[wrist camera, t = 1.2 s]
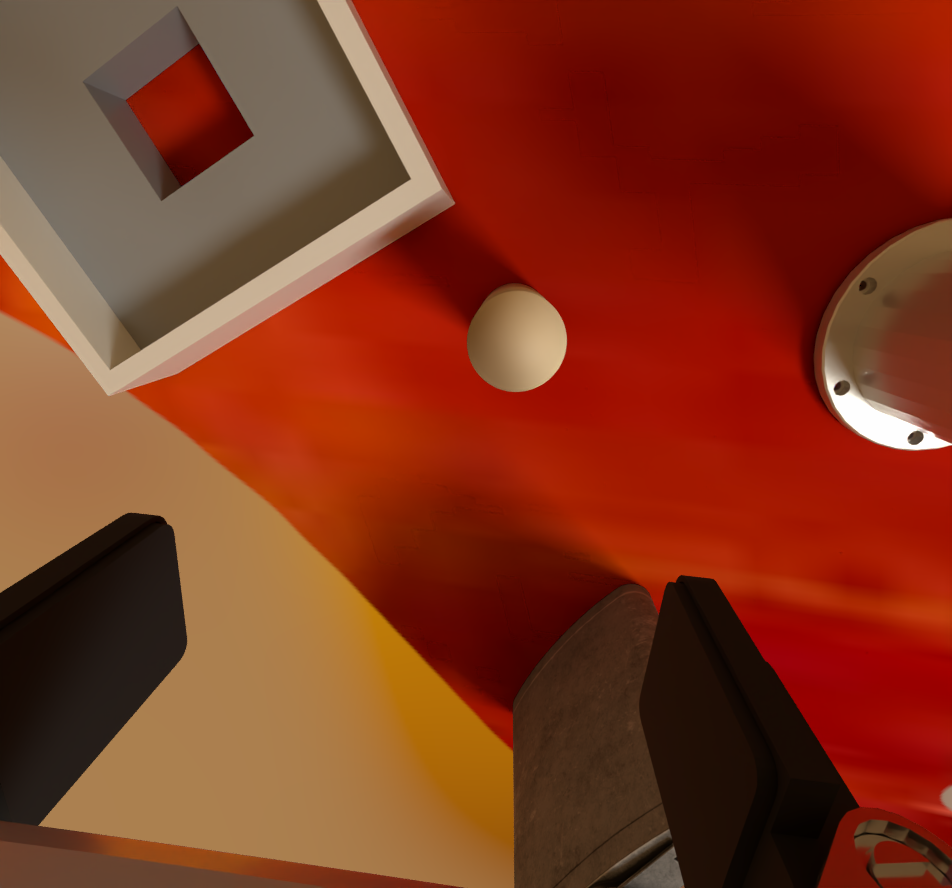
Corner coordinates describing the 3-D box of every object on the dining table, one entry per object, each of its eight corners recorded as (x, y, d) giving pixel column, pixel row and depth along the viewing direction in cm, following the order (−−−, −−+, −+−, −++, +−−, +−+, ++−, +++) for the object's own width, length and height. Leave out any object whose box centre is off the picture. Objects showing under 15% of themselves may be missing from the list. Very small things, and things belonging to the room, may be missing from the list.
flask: (496, 703, 40) (487, 1029, 23) (617, 570, 36) (717, 850, 19) (536, 726, 40) (555, 1062, 23) (659, 597, 36) (795, 895, 19)
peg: (529, 269, 30) (539, 271, 20) (560, 333, 31) (583, 363, 21) (467, 304, 30) (449, 322, 21) (499, 365, 31) (495, 408, 22)
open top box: (238, -222, 24) (152, -376, 18) (455, 203, 29) (442, 188, 23) (-59, 42, 28) (-206, -16, 22) (177, 373, 33) (108, 396, 27)
